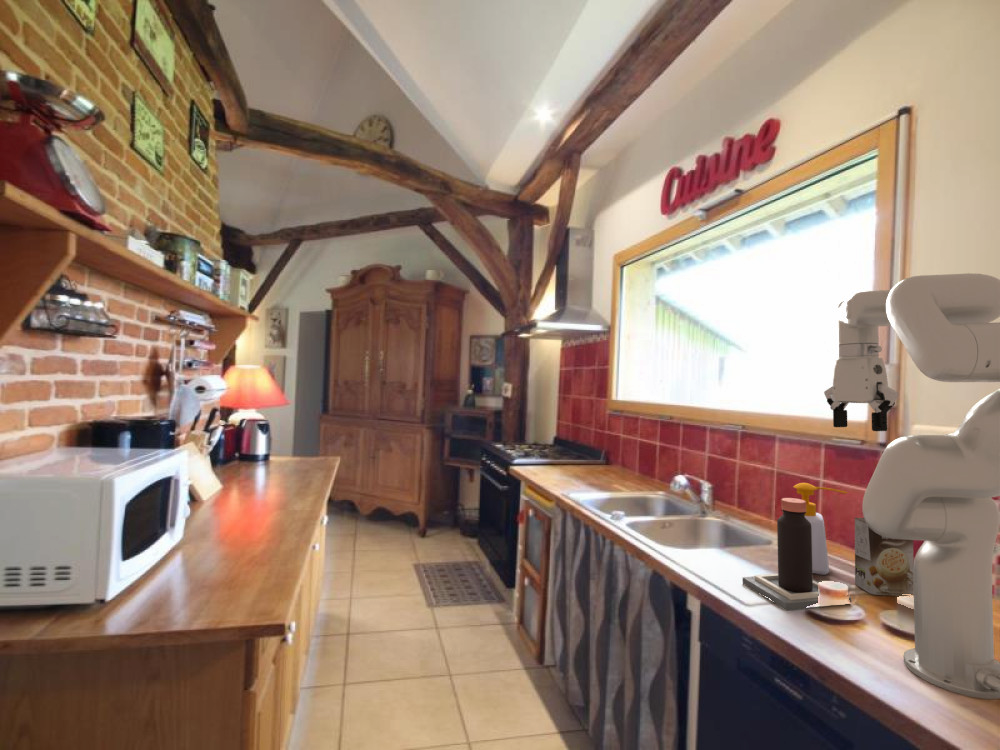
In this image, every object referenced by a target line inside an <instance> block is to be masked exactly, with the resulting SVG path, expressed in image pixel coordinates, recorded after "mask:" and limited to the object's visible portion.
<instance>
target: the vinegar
mask: <svg viewBox="0 0 1000 750" xmlns="http://www.w3.org/2000/svg"><path fill="white" fill-rule="evenodd" d="M780 502H781V505H780V506H781V512H782V513H783V514H782V515H781V516H779V518H777V520H776V522H777V524H776V529H777V531H776V532H777V535H776V536H777V539H776V540H777V574H778V583H779V585H780V586H781V587H782V588H784V589H786V590H789V591H792V592H797V593H807V592H811V591H812V590H813V579H814V578H813V573H812V529H811V523H810V522H809V521H808V520H807V519H806V518H805V514H806V501H804V500H802V498H801V499H800V498H794V497H793V498H792V497H783V498H781V499H780Z"/></svg>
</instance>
